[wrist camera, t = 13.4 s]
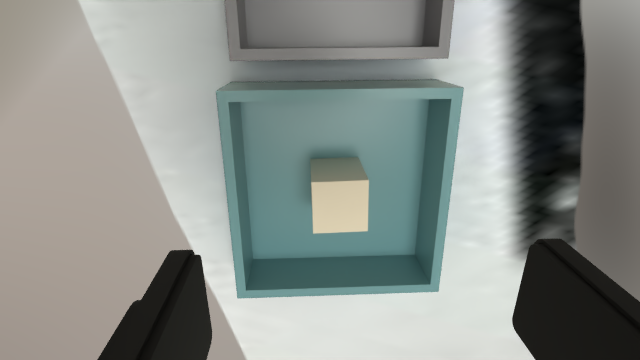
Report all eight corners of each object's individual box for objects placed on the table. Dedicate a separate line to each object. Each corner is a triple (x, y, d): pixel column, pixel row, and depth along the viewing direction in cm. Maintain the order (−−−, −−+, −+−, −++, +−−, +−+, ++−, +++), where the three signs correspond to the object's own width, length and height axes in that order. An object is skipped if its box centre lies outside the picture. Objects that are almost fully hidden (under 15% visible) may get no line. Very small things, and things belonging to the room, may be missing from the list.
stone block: (310, 158, 34) (311, 182, 28) (358, 157, 34) (368, 180, 29) (311, 203, 36) (313, 233, 30) (357, 201, 36) (367, 231, 30)
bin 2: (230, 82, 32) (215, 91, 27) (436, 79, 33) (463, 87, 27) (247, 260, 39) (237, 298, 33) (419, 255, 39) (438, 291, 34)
